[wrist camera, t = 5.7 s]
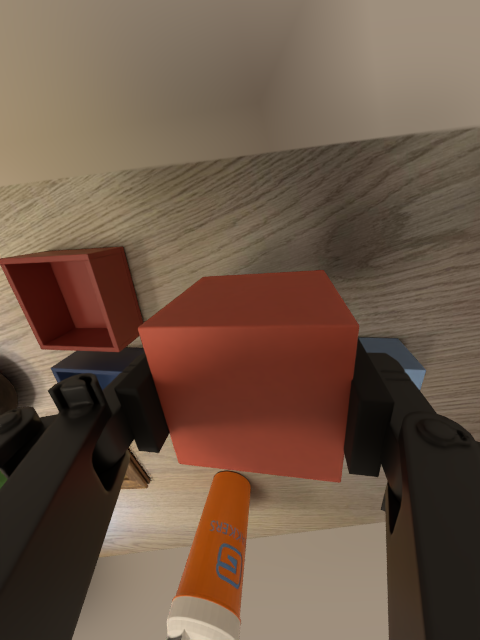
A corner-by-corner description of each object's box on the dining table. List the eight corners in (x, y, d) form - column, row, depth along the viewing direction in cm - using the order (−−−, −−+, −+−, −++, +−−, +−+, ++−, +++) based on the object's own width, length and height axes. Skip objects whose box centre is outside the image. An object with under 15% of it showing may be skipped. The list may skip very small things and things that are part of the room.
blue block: (341, 336, 27) (354, 367, 22) (398, 338, 26) (426, 370, 21) (336, 378, 30) (347, 414, 24) (388, 381, 29) (411, 419, 23)
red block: (202, 276, 12) (136, 327, 7) (324, 269, 11) (360, 325, 6) (218, 371, 15) (178, 464, 9) (319, 374, 13) (341, 483, 8)
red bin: (45, 251, 30) (-3, 259, 25) (123, 246, 28) (87, 253, 23) (77, 329, 34) (41, 349, 29) (145, 330, 32) (119, 352, 27)
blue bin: (83, 346, 35) (50, 367, 30) (150, 348, 33) (126, 372, 28) (106, 402, 40) (80, 429, 35) (166, 407, 38) (147, 437, 33)
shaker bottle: (241, 504, 45) (211, 694, 27) (201, 483, 45) (144, 662, 27) (265, 483, 41) (249, 690, 23) (221, 460, 41) (171, 652, 23)
